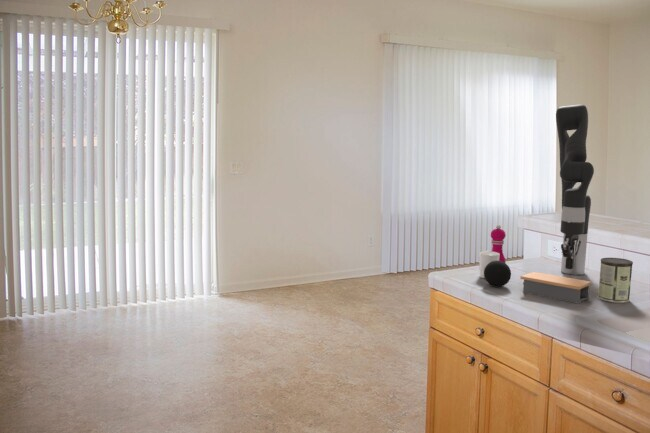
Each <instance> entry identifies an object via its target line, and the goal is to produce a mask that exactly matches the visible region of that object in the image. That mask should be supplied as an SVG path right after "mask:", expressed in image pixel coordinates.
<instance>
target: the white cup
mask: <svg viewBox="0 0 650 433" xmlns="http://www.w3.org/2000/svg"><path fill="white" fill-rule="evenodd" d="M499 256H500V254H499V253H497V252H492V250H490V251H489V250H483V251H482V250H481V251H480V252H479V257H478V258H479V265H478V266H479V277H480V278H481V279H485V277H484V269H485V267H486V266H487V264H489V263H490V262H492V261H499Z"/></svg>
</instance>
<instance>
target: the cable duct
mask: <svg viewBox="0 0 650 433" xmlns="http://www.w3.org/2000/svg"><path fill="white" fill-rule="evenodd" d="M523 282H524V285H523V289H522V293H525V294H530V295H534V296H539V297H545V298H550V299H555V300H559V301H564V302H568V303H569V302H570V303H575V304H580V303H583V301H585V300H587V299H589V296H590V295H589V293H590V285H589V286H586V287H584V288H582V289H580V290H578V289H572V288H567V287H562V286H556V285H551V284H546V283H540V282H535V281H529V280H524V279H523ZM580 291H586V292H588V297H587V298H582V297H580Z"/></svg>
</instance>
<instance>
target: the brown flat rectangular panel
mask: <svg viewBox="0 0 650 433" xmlns="http://www.w3.org/2000/svg"><path fill="white" fill-rule="evenodd" d="M520 280H523V281H524V280H529V281H535V282H540V283H546V284H551V285H556V286H562V287H567V288H572V289H578V290H580V289H582V288H584V287H586V286H589V287H590V286H591V285H592V281H588V280H583V279H577V278H571V277H567V276H566V277H565V276H560V275H556V274H555V275H554V274H548V273H543V272H537V271H532V272H529V273H525V274H524V275H523V274H522V275H520Z"/></svg>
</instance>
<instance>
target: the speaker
mask: <svg viewBox="0 0 650 433" xmlns="http://www.w3.org/2000/svg"><path fill="white" fill-rule="evenodd" d="M511 272H512V271H511V268H510V266H509V265H508V264H507V263H506V262H505V263H504V262H502V261H492V262H490V263H489V264H487V266H486V267H485V269H484V277H485V278H484V280H485V281H486V282H487V284H488V285H490V286H491V287H495V288H496V287H497V288H500V287H503V286H506V285H507V284H508V283H509V282H510V280H511V276H512V273H511Z"/></svg>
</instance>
